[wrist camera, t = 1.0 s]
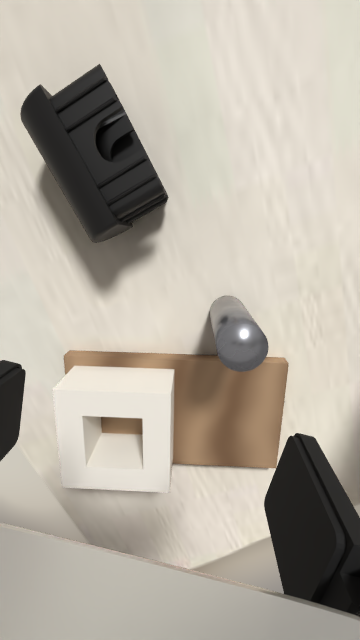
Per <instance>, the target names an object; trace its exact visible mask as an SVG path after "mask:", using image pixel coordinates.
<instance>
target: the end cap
mask: <svg viewBox="0 0 360 640" xmlns="http://www.w3.org/2000/svg"><path fill="white" fill-rule="evenodd" d="M21 120H22V122H23V124H24V126H25V128H26V129H27V131H28V133H29V135H30V136H31V138H32V140H33V141H34V143H35V145H36V147H37V148H38V150H39V152H40V153H41V155H42V157H43V159H44V160H45V162H46V164H47V165H48V167H49V169H50V171H51V172H52V174H53V176H54V177H55V179H56V181H57V183H58V184H59V186H60V188H61V189H62V191H63V193H64V195H65V196H66V198H67V200H68V202H69V203H70V205H71V207H72V208H73V210H74V212H75V214H76V215H77V217H78V219H79V220H80V222H81V224H82V226H83V227H84V229H85V231H86V232H87V234H88V236H89V238H90V239H91V241H92V242H95V243H97V242H101V241H104V240H107V239H109V238H112V237H114V236H116V235H118V234H120V233H122V232H124V231H126V230H128V229H130V228H131V227H133V225H132V223H131V222H133V221H135V220H136V219H138V218H140V217H142V216H143V215H145V214H147V213H149V212H150V211H152V210H154V209H156V208H157V207H159V206H161V205H162V204H164V203H165V202H166V201H167V199H168V198H169V197H168V195H167V193H166V191H165V189H164V187H163V185H162V183H161V181H160V179H159V177H158V175H157V173H156V171H155V169H154V167H153V165H152V163H151V161H150V159H149V157H148V155H147V153H146V151H145V149H144V147H143V146H142V144H141V142H140V140H139V138H138V136H137V134H136V132H135V130H134V128H133V126H132V124H131V122H130V120H129V118H128V116H127V114H126V112H125V110H124V108H123V106H122V104H121V103H120V101H119V99H118V97H117V95H116V93H115V91H114V89H113V87H112V85H111V84H110V82H109V81H108V78H107V76H106V75H105V73H104V71H103V69H102V67H101V65H100V64H99V65H97V66H96V67H94V68H93V69H92V70H90V71H89V72H87V73H86V74H84V75H83V76H81V77H80V78H78V79H77V80H75V81H74V82H73V83H71V84H70V85H68V86H67V87H65V88H64V89H62V90H61V91H59V92H58V93H56V94H55V95H54V96H52V95H51V94H50V93H49V92H48V91H47V90H46V89H45V88H44V87H43V86H42V85H41V84H40V85H39V86H37V87H36V88H35V89H34V90H33V91H32V92H31V93H30V94H29V95H28V96H27V98H26V99H25V101H24V103H23V105H22V108H21Z"/></svg>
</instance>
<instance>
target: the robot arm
mask: <svg viewBox="0 0 360 640" xmlns="http://www.w3.org/2000/svg"><path fill="white" fill-rule="evenodd" d="M24 383H25V370H24V369H22V367H21V365H20V364H18V363H13V362H9V361H5V360H2V361H0V461H1V460H2V459H3V458H4V457H5V455H6V454H7V453H8V452H9V451H10V450H11V449H12V447H13V446H14V445H15V444H16V442H17V440H18V437H19V430H20V420H21V411H22V402H23V393H24ZM264 507H265V512H266V517H267V521H268V525H269V530H270V534H271V538H272V543H273V547H274V551H275V556H276V560H277V564H278V569H279V573H280V577H281V581H282V586H283V590H284V594H281V593H278V592H274V591H270V590H267V589H263V588H259V587H255V586H252V585H248V584H244V583H240V582H236V581H232V580H228V579H224V578H220V577H217V576H213V575H209V574H205V573H201V572H197V571H193V570H189V569H186V568H182V567H178V566H174V565H170V564H166V563H162V562H158V561H154V560H150V559H146V558H142V557H138V556H134V555H130V554H126V553H122V552H118V551H114V550H110V549H106V548H102V547H98V546H94V545H90V544H86V543H82V542H78V541H74V540H70V539H65V538H62V537H58V536H54V535H50V534H45V533H41V532H37V531H33V530H29V529H25V528H21V527H16V526H12V525H9V524H4V523H0V640H360V518H359V516H358V514H357V512H356V510H355V509H354V507H353V505H352V503H351V501H350V500H349V498H348V496H347V494H346V493H345V491H344V489H343V487H342V485H341V484H340V482H339V480H338V478H337V476H336V475H335V473H334V471H333V469H332V467H331V466H330V464H329V462H328V460H327V459H326V457H325V455H324V453H323V451H322V450H321V448H320V446H319V444H318V442H317V441H316V439H315V438H314V437H311V436H307V435H303V434H299V433H296V434H295V435H294V436H290V437H289V438H288V440H287V442H286V445H285V448H284V450H283V453H282V455H281V458H280V460H279V463H278V466H277V468H276V471H275V473H274V476H273V478H272V481H271V483H270V486H269V489H268V491H267V494H266V497H265V502H264Z"/></svg>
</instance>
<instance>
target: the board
mask: <svg viewBox="0 0 360 640" xmlns="http://www.w3.org/2000/svg"><path fill="white" fill-rule="evenodd" d="M64 365H65V375H66V374H67V373H68V372H69V371H70V370H71V369H72V368H73V367H74V366H98V367H126V368H155V369H174V433H173V462H172V463H175V464H196V465H218V466H239V467H260V468H276V465H277V456H278V448H279V440H280V431H281V423H282V414H283V406H284V398H285V389H286V381H287V372H288V362H287V361H286V360H285V358H276V357H266V358H265V360H264V361H263V362H262V363H261V364H260V365H259V366H258V367H257V368H255V369H253V370H250V371H245V372H238V371H234V370H231V369H229V368H227V367H226V366H225V365H224V364H223V363H222V362H221V360H220V359H219V356H217V355H187V354H157V353H127V352H97V351H69V352H67V353H66V354H65V355H64ZM101 428H102V433H114V434H137V435H143V422H142V418H120V417H101Z"/></svg>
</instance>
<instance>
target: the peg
mask: <svg viewBox="0 0 360 640" xmlns="http://www.w3.org/2000/svg"><path fill="white" fill-rule="evenodd" d="M210 318H211V323H212V328H213V333H214V338H215V343H216V348H217V353H218V356H219V359H220V360H221V362H222V363H223V364H224V365H225V366H226V367H227V368H229V369H231V370H234V371H238V372H245V371H250V370H253V369H255V368H257V367H258V366H259V365H260V364H261V363H262V362H263V361H264V360H265V358H266V356H267V353H268V341H267V338H266V336H265V335H264V333H263V332H262V330H261V329H260V328H259V326H258V325H257V323H256V322H255V321H254V319H253V318H252V316H251V315H250V314H249V312H248V311H247V309H246V308H245V307H244V305H243V304H242V303H241V301H240V300H239V299H237V298H235V297H233V296H222V297H220V298H218V299H217V300H215V301H214V302H213V304H212V306H211V308H210Z"/></svg>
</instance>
